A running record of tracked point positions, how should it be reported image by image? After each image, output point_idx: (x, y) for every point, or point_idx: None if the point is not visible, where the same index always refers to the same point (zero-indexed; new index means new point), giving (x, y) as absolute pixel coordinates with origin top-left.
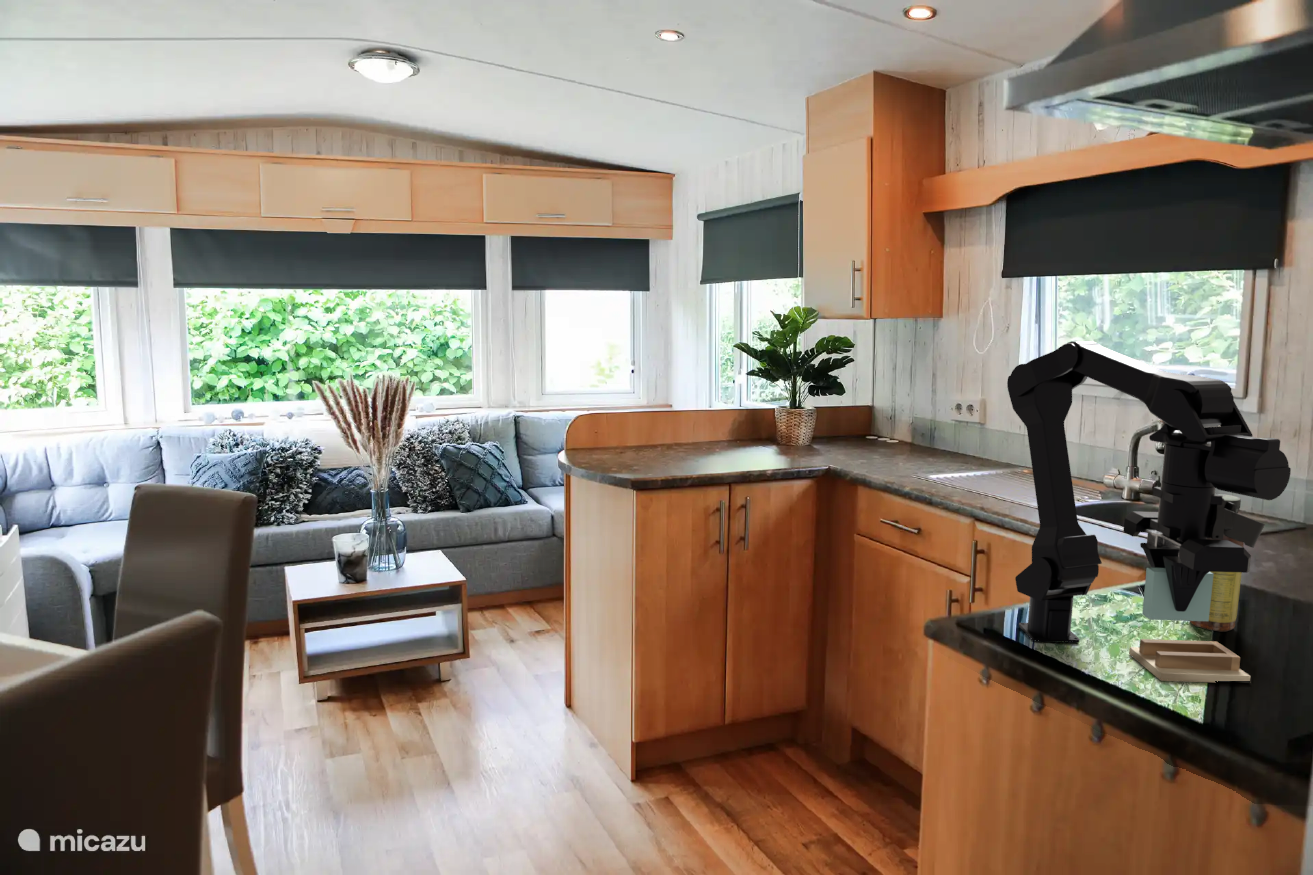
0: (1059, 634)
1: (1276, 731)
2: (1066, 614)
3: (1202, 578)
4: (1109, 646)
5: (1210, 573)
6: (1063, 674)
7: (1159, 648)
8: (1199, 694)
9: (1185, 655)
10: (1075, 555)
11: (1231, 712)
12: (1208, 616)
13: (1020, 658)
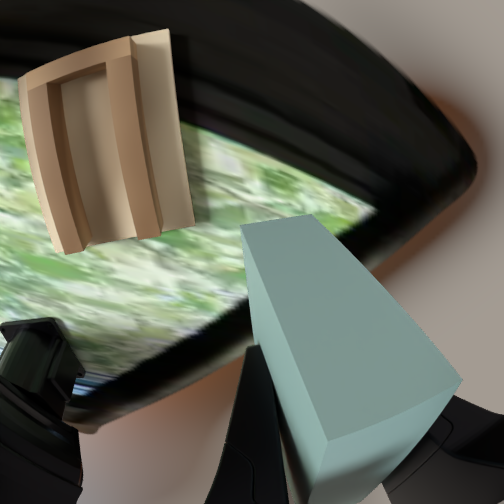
0: (71, 358)
1: (394, 103)
2: (58, 381)
3: (474, 406)
4: (38, 271)
5: (449, 395)
6: (210, 359)
7: (78, 210)
8: (255, 163)
9: (146, 174)
10: (42, 492)
11: (334, 137)
12: (319, 224)
13: (164, 393)
